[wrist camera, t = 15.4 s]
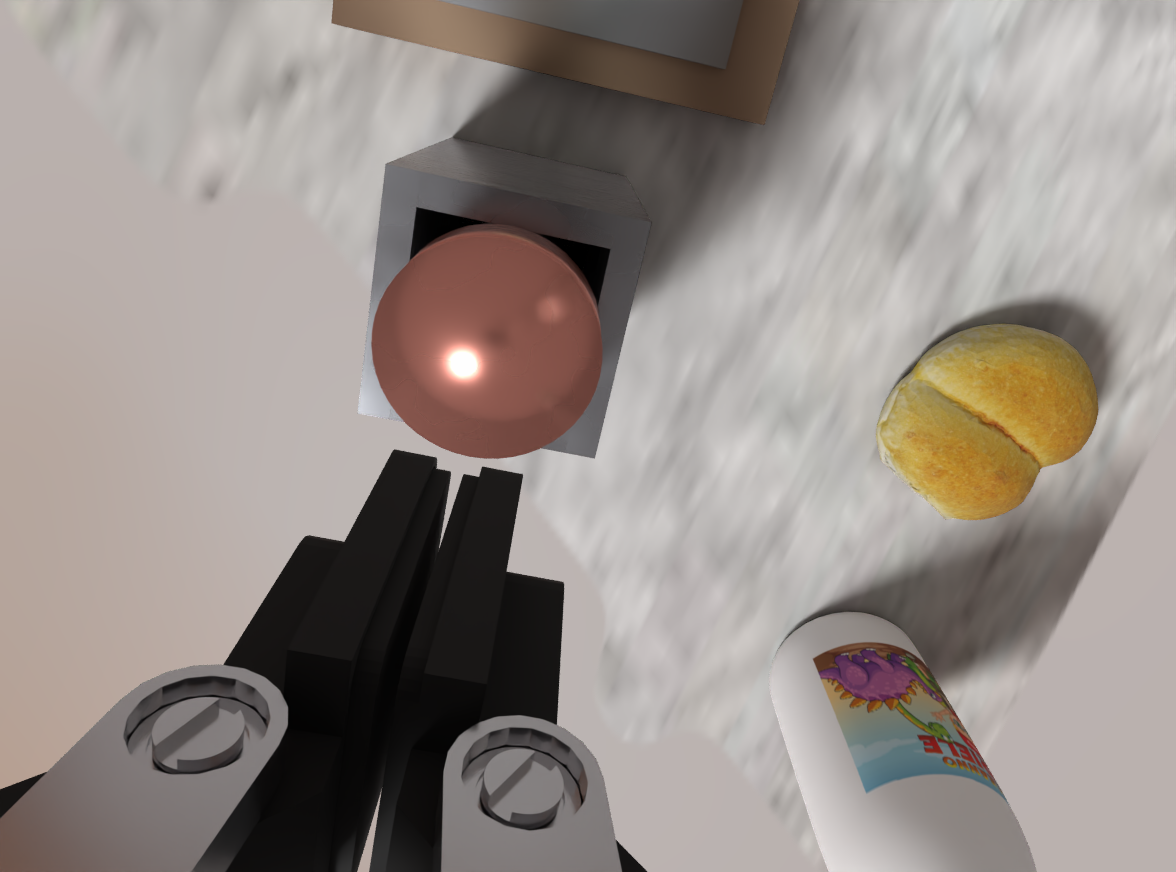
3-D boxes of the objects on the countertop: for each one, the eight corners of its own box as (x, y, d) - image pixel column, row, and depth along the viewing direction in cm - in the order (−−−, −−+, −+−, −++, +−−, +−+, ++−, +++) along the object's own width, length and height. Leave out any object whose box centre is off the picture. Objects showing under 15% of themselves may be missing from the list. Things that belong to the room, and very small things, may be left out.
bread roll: (1108, 391, 37) (1167, 425, 33) (954, 524, 39) (993, 570, 36) (992, 274, 34) (1042, 296, 31) (837, 423, 37) (866, 461, 33)
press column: (626, 176, 32) (651, 222, 21) (588, 341, 35) (594, 458, 24) (451, 137, 32) (385, 163, 21) (427, 308, 34) (357, 413, 23)
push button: (610, 211, 27) (626, 265, 19) (576, 366, 29) (576, 476, 21) (444, 174, 27) (385, 213, 18) (421, 335, 29) (359, 436, 21)
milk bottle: (851, 746, 44) (1045, 1211, 26) (736, 688, 43) (857, 1142, 24) (945, 647, 42) (1235, 1086, 23) (827, 581, 40) (1039, 998, 22)
